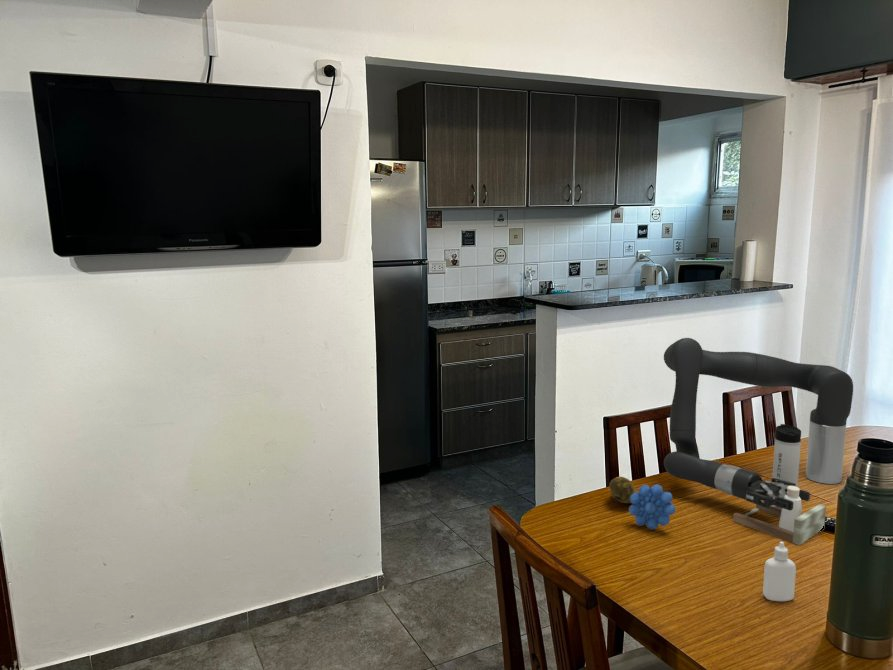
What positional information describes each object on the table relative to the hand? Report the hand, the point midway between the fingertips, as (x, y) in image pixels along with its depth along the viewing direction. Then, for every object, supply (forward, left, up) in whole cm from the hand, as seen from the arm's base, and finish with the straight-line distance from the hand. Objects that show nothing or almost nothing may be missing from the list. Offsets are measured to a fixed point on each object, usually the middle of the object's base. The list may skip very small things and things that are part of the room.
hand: (801, 501), depth 163 cm
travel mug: (-18, -12, -8) cm, 23 cm away
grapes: (+25, -24, -8) cm, 36 cm away
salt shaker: (0, -2, -8) cm, 8 cm away
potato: (+18, -39, -8) cm, 43 cm away
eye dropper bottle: (+32, +11, -8) cm, 35 cm away
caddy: (0, -5, -8) cm, 10 cm away
